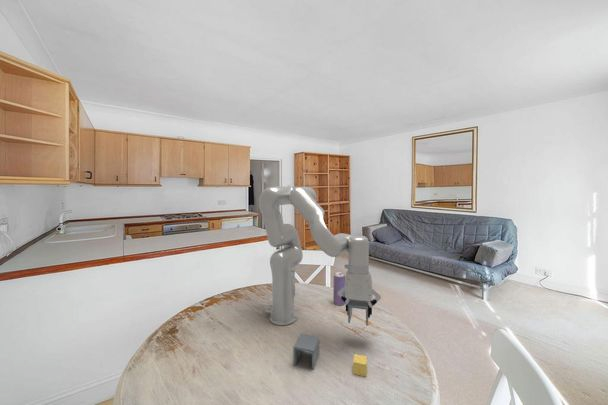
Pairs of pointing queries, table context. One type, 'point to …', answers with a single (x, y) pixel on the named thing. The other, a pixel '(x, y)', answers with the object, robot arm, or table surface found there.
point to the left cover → (306, 347)
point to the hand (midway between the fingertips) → (358, 314)
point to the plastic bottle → (293, 276)
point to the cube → (360, 365)
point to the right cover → (357, 305)
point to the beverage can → (338, 287)
